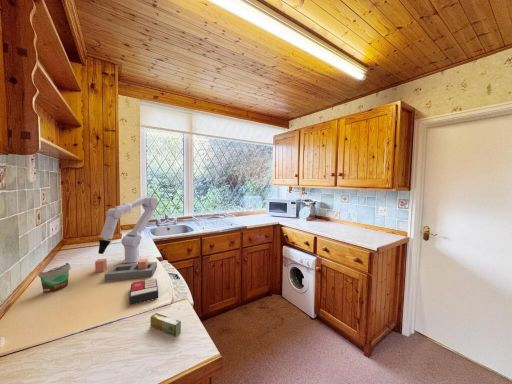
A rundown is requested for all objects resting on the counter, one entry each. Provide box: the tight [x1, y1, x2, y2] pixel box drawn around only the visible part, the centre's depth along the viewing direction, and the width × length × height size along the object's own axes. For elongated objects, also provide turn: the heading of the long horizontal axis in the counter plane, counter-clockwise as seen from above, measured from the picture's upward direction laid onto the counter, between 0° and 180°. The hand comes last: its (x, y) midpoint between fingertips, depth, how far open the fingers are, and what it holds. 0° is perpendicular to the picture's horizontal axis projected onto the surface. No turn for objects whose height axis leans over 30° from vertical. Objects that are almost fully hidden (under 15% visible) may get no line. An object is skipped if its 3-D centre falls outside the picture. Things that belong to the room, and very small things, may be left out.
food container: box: [38, 262, 72, 294], centre depth 102 cm, size 12×6×10 cm, turn 168°
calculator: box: [128, 277, 159, 306], centre depth 98 cm, size 11×4×15 cm
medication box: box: [149, 312, 182, 337], centre depth 75 cm, size 12×3×4 cm, turn 67°
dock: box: [104, 258, 158, 282], centre depth 117 cm, size 12×22×7 cm, turn 104°
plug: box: [94, 258, 108, 273], centre depth 122 cm, size 4×4×6 cm
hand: (100, 253), depth 118 cm, fingers open, 7 cm apart
